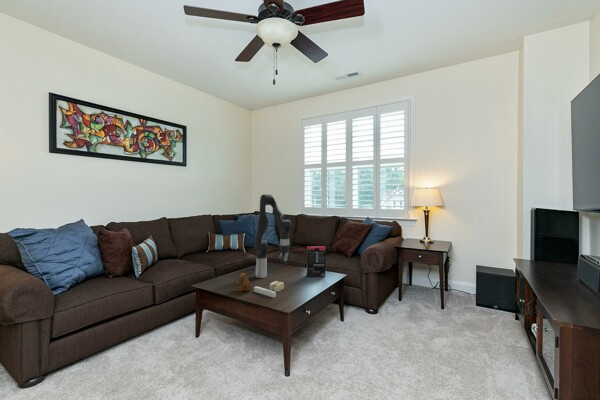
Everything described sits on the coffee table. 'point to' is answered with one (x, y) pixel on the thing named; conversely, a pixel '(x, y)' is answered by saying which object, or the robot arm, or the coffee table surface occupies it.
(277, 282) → the maple block
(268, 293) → the board
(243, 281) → the stuffed squirrel
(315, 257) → the graphics card box
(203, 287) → the coffee table surface
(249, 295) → the coffee table surface
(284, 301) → the coffee table surface
